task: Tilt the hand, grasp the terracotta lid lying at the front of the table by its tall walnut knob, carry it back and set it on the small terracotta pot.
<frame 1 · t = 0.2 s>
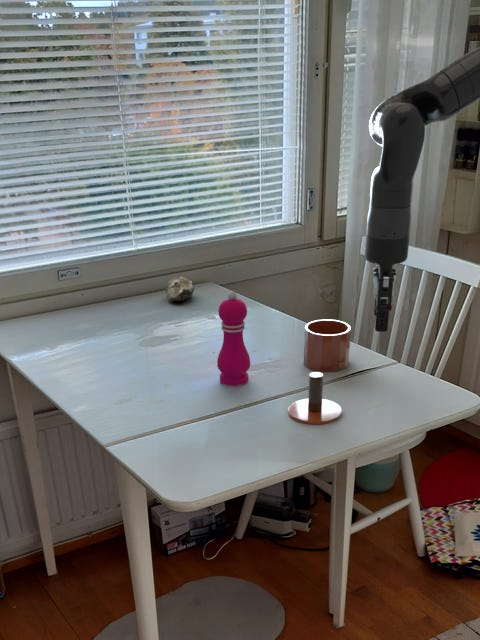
hand: (380, 322, 145), 20 cm above the table, tool pointing down, fingers open, 8 cm apart
pepper mill: (234, 382, 172), on the table
pot: (325, 363, 180), on the table
fossilized seashell: (181, 298, 220), on the table
lid: (314, 412, 158), point 1 cm above the table
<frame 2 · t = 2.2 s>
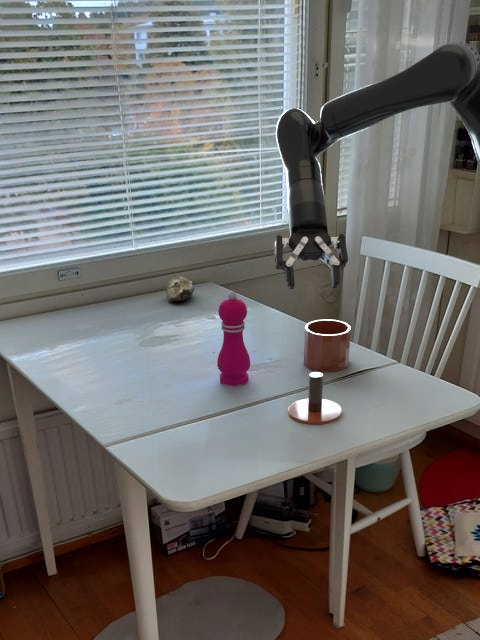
hand: (313, 287, 154), 23 cm above the table, tool tilted 45°, fingers open, 8 cm apart
nothing on the table moved.
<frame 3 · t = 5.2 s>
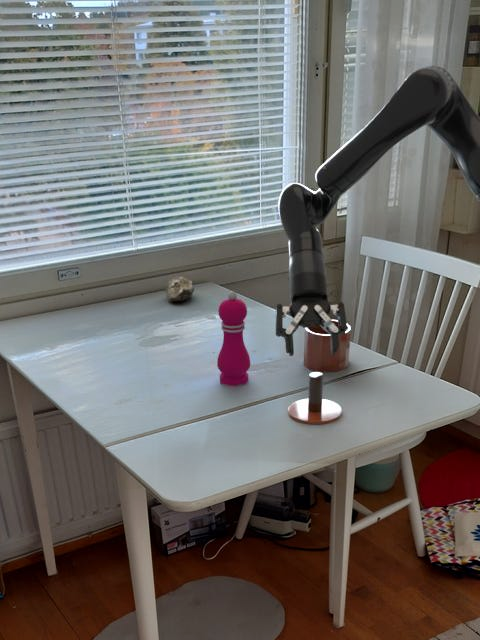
hand: (312, 353, 157), 11 cm above the table, tool tilted 45°, fingers open, 8 cm apart
nothing on the table moved.
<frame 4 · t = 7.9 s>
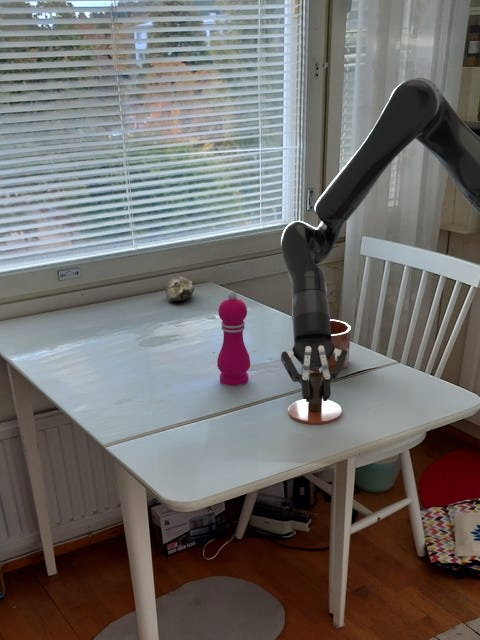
hand: (317, 400, 154), 4 cm above the table, tool tilted 45°, fingers closed on lid, 3 cm apart
lid: (314, 412, 158), point 1 cm above the table, touching gripper
everything else where it was.
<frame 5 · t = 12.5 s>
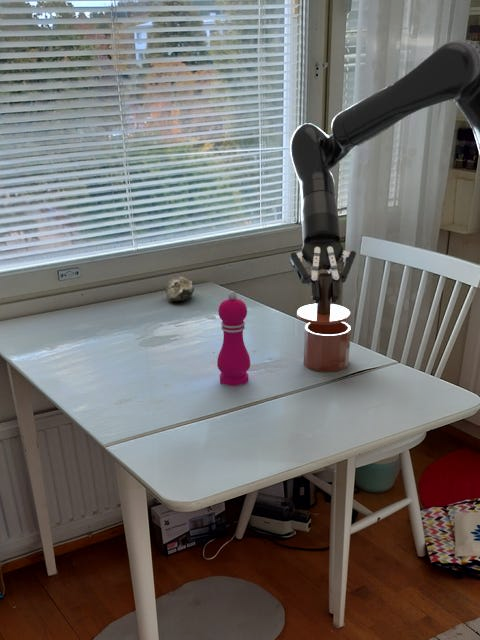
hand: (325, 300, 155), 20 cm above the table, tool tilted 45°, fingers closed on lid, 3 cm apart
lid: (323, 315, 159), point 16 cm above the table, touching gripper
everything else where it was.
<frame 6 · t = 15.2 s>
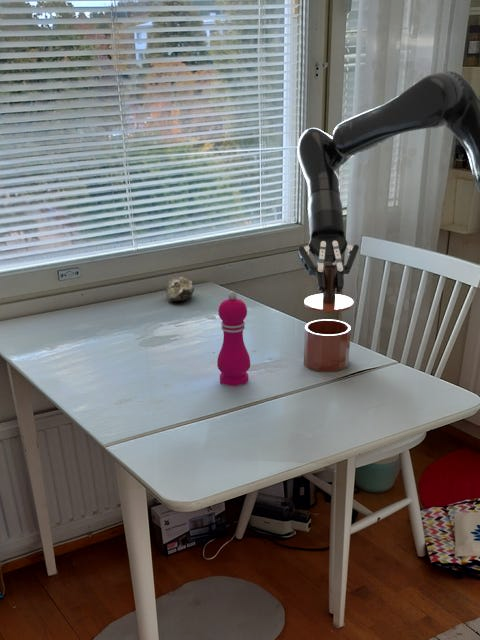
hand: (331, 290, 169), 17 cm above the table, tool tilted 45°, fingers closed on lid, 3 cm apart
lid: (328, 304, 172), point 14 cm above the table, touching gripper
everything else where it was.
when the fingers open (12 cm above the table, at t = 17.0 s): lid stays where it is, resting on pot.
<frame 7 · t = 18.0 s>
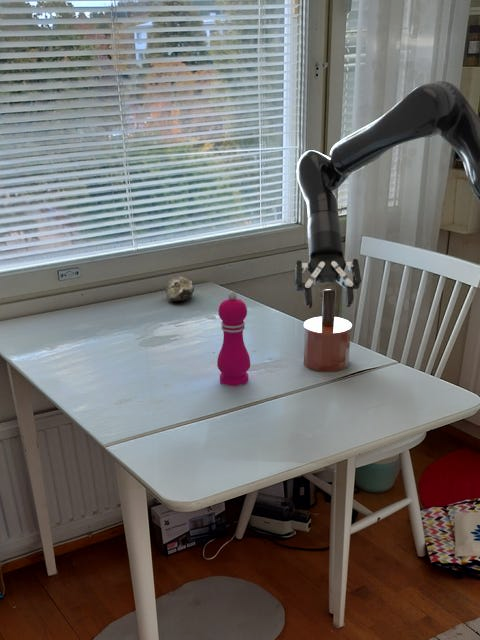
hand: (329, 306, 171), 14 cm above the table, tool tilted 45°, fingers open, 8 cm apart
lid: (327, 327, 175), point 8 cm above the table, touching pot
everything else where it was.
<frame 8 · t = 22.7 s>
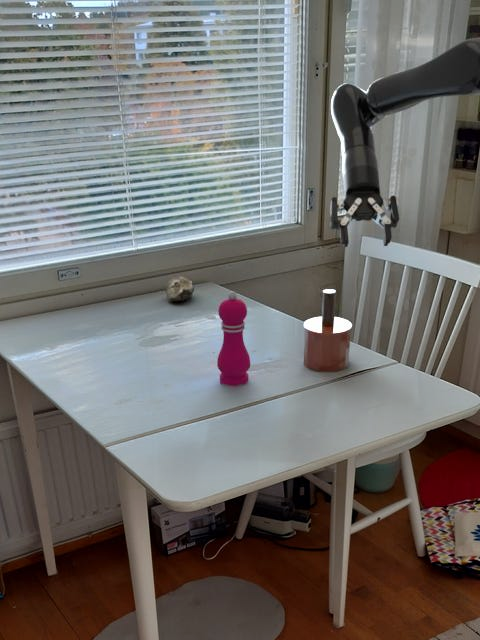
hand: (366, 244, 164), 27 cm above the table, tool tilted 45°, fingers open, 8 cm apart
nothing on the table moved.
at the end: lid 0.1 cm off-centre on the pot, point 8.5 cm above the pot's base; lid tilted 0°; the gripper is holding nothing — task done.
